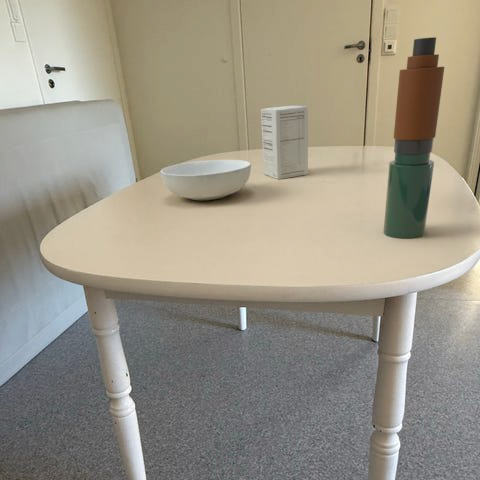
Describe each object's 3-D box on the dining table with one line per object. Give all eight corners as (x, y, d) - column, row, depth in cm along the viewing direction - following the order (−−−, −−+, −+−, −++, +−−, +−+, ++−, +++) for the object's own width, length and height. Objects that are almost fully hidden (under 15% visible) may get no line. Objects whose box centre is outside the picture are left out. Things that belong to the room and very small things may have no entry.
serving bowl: (269, 189, 107) (268, 159, 104) (217, 211, 93) (214, 177, 89) (201, 184, 118) (199, 157, 115) (145, 203, 103) (140, 172, 100)
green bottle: (417, 225, 76) (429, 133, 69) (430, 237, 70) (444, 138, 63) (379, 227, 76) (387, 136, 69) (388, 239, 70) (397, 141, 64)
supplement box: (292, 170, 128) (292, 105, 120) (309, 174, 120) (309, 105, 112) (262, 174, 125) (259, 108, 117) (277, 179, 117) (275, 109, 109)
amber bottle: (427, 134, 68) (439, 38, 62) (441, 138, 63) (455, 34, 57) (389, 136, 69) (397, 41, 63) (399, 141, 64) (409, 38, 58)
